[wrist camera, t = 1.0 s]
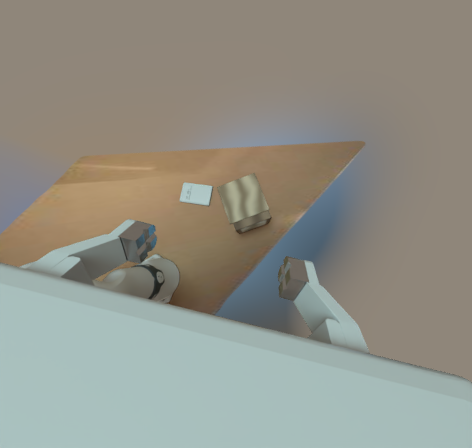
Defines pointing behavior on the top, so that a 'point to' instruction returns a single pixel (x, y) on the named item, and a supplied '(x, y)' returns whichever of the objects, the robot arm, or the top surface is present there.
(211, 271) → the top surface
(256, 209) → the beige square tray
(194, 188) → the external hard drive
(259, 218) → the walnut picture frame
